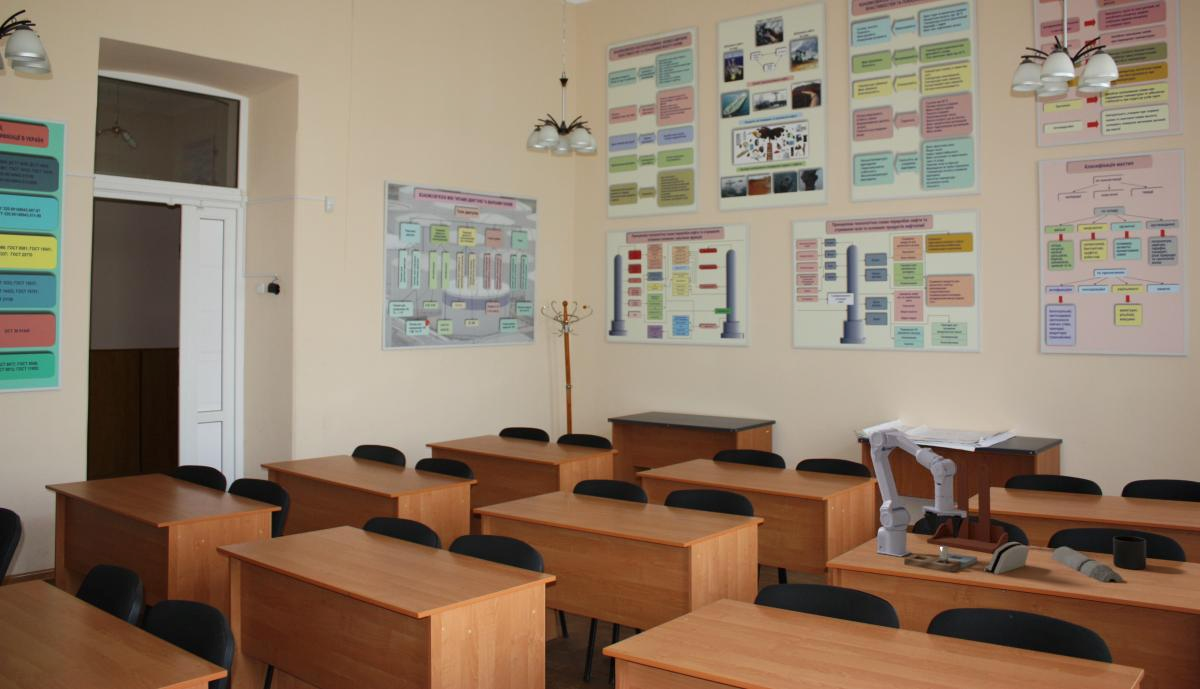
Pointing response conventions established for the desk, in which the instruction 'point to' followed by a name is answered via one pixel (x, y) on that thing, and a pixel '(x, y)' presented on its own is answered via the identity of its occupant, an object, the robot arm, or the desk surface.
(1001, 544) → the hanging shelf
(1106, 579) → the grey elongated piece
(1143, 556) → the mug
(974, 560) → the socket block
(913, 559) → the rack
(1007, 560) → the grey arched plastic casing
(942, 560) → the peg
